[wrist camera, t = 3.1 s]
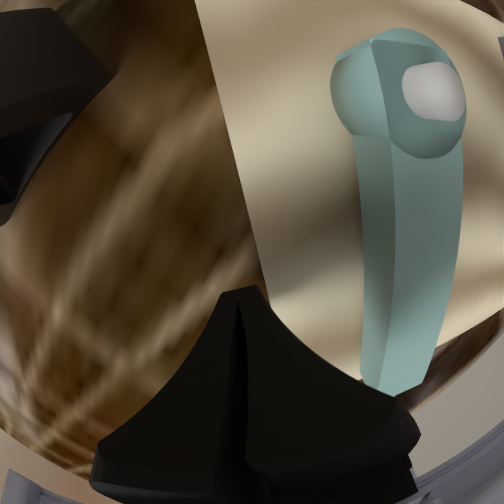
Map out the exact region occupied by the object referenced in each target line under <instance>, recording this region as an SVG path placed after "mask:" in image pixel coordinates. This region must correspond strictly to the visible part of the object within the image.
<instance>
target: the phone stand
mask: <svg viewBox="0 0 504 504" xmlns="http://www.w3.org/2000/svg"><path fill="white" fill-rule="evenodd" d="M109 81H110V77H109V76H108V75H107V74H106V72H105V71H104V70H103V69H102V68H101V66H100V65H99V64H98V63H97V62H96V61H95V59H94V58H93V57H92V56H91V55H90V53H89V52H88V51H87V50H86V49H85V47H84V46H83V45H82V44H81V43H80V41H79V40H78V39H77V38H76V37H75V35H74V34H73V33H72V32H71V31H70V30H69V28H68V27H67V26H66V25H65V24H64V22H63V21H62V20H61V19H60V18H59V16H58V15H57V14H56V13H55V12H54V11H53V9H52V8H37V9H24V10H15V11H7V12H1V13H0V226H3V225H4V224H5V223H6V222H7V221H8V220H9V218H10V216H11V214H12V212H13V210H14V209H15V207H16V205H17V203H18V201H19V199H20V197H21V196H22V194H23V192H24V190H25V189H26V187H27V185H28V184H29V182H30V180H31V179H32V177H33V176H34V174H35V172H36V171H37V169H38V168H39V166H40V165H41V163H42V162H43V160H42V159H43V158H44V157H45V156H46V155H48V153H49V152H50V150H51V149H52V148H53V146H54V145H55V144H56V142H57V141H58V140H59V138H60V137H61V136H62V134H63V133H64V132H65V131H66V129H67V128H68V127H69V126H70V124H71V123H72V122H73V121H74V120H75V118H76V117H77V116H78V115H79V114H80V113H81V111H82V110H83V109H84V108H85V107H86V106H87V105H88V104H89V103H90V101H91V100H92V99H93V98H94V97H95V96H96V95H97V94H98V93H99V92H100V91H101V90H102V89H103V88H104V87H105V86H106V85H107V84H108V83H109Z"/></svg>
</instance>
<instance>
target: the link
mask: <svg viewBox="0 0 504 504" xmlns="http://www.w3.org/2000/svg"><path fill="white" fill-rule="evenodd" d="M335 58H336V63H335V65H334V68H333V70H332V74H331V80H330V92H331V99H332V102H333V106H334V108H335V111H336V113H337V115H338V117H339V119H340V121H341V122H342V124H343V125H344V127H345V128H346V129H347V130H348V131H349V132H350V133H351V134H352V138H353V144H354V151H355V158H356V166H357V174H358V182H359V192H360V203H361V216H362V232H363V257H364V307H363V331H362V347H361V359H360V370H359V372H360V374H361V376H362V378H363V380H364V383H365V384H366V385H368V386H370V387H372V388H375V389H377V390H379V391H381V392H383V393H386V394H388V395H391V396H395V395H397V394H399V393H402V392H404V391H406V390H408V389H410V388H413V387H415V386H417V385H419V384H421V383H422V382H423V379H424V377H425V374H426V372H427V369H428V367H429V364H430V361H431V358H432V356H433V353H434V350H435V347H436V344H437V341H438V338H439V334H440V331H441V328H442V324H443V321H444V317H445V313H446V309H447V305H448V301H449V297H450V292H451V288H452V283H453V278H454V272H455V267H456V261H457V254H458V247H459V239H460V230H461V219H462V203H463V152H462V137H461V135H462V133H463V130H464V127H465V121H466V112H467V111H466V97H465V91H464V87H463V84H462V81H461V78H460V76H459V73H458V71H457V69H456V68H455V66H454V64H453V62H452V61H451V59H450V58H449V57H448V54H447V51H446V50H443V49H442V48H441V47H440V46H439V45H438V44H436V43H435V42H434V41H433V40H431V39H430V38H429V37H427V36H425V35H424V34H422V33H420V32H417V31H415V30H411V29H407V28H393V29H389V30H386V31H384V32H382V33H380V34H378V35H376V36H374V37H372V38H370V39H367V40H365V41H363V42H361V43H359V44H357V45H356V46H354V47H352V48H350V49H348V50H347V51H345V52H343V53H341V54H339V55H338V56H336V57H335Z"/></svg>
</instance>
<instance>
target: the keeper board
mask: <svg viewBox="0 0 504 504" xmlns="http://www.w3.org/2000/svg"><path fill="white" fill-rule="evenodd" d="M195 3H196V7H197V11H198V15H199V19H200V22H201V26H202V30H203V34H204V38H205V42H206V46H207V50H208V54H209V57H210V61H211V65H212V69H213V73H214V77H215V81H216V85H217V89H218V93H219V97H220V101H221V105H222V109H223V113H224V117H225V121H226V125H227V129H228V133H229V137H230V141H231V145H232V149H233V153H234V157H235V161H236V165H237V169H238V173H239V177H240V181H241V185H242V189H243V193H244V197H245V201H246V205H247V209H248V214H249V218H250V222H251V226H252V230H253V234H254V238H255V242H256V246H257V250H258V255H259V259H260V263H261V267H262V271H263V275H264V279H265V284H266V288H267V292H268V296H269V300H270V305H271V308H272V310H273V311H274V312H275V314H276V315H277V316H278V317H279V318H280V320H281V321H282V322H283V323H284V324H285V325H286V326H287V327H288V328H289V329H290V330H291V332H292V333H293V334H294V335H296V336H297V337H298V338H299V339H300V340H301V341H302V342H303V343H304V344H305V345H307V346H308V347H309V348H310V349H311V350H313V351H314V352H315V353H317V354H318V355H319V356H320V357H322V358H323V359H324V360H326V361H327V362H329V363H331V364H332V365H334V366H335V367H337V368H338V369H340V370H341V371H343V372H344V373H346V374H348V375H349V376H351V377H353V378H355V379H357V380H359V379H362V376H361V374H360V372H359V370H360V359H361V347H362V331H363V307H364V257H363V232H362V216H361V203H360V192H359V182H358V174H357V166H356V158H355V151H354V144H353V138H352V134H351V133H350V132H349V131H348V130H347V129H346V128H345V127H344V125H343V124H342V122H341V121H340V119H339V117H338V115H337V113H336V111H335V108H334V106H333V102H332V99H331V92H330V80H331V74H332V70H333V68H334V65H335V63H336V58H335V57H336V56H338V55H339V54H341V53H343V52H345V51H347V50H348V49H350V48H352V47H354V46H356V45H357V44H359V43H361V42H363V41H365V40H367V39H370V38H372V37H374V36H376V35H378V34H380V33H382V32H384V31H386V30H389V29H393V28H407V29H411V30H415V31H417V32H420V33H422V34H424V35H425V36H427V37H429V38H430V39H431V40H433V41H434V42H435V43H436V44H438V45H439V46H440V47H441V48H442V49H443V50H446V51H447V54H448V57H449V58H450V59H451V61H452V62H453V64H454V66H455V68H456V69H457V71H458V73H459V76H460V78H461V81H462V84H463V87H464V91H465V97H466V111H467V112H466V121H465V127H464V130H463V133H462V135H461V137H462V152H463V203H462V219H461V230H460V239H459V247H458V254H457V261H456V267H455V272H454V278H453V283H452V288H451V292H450V297H449V301H448V305H447V309H446V313H445V317H444V321H443V324H442V328H441V331H440V334H439V338H438V341H437V344H436V347H437V346H439V345H441V344H443V343H445V342H447V341H449V340H451V339H453V338H454V337H456V336H458V335H460V334H462V333H463V332H465V331H467V330H469V329H470V328H472V327H474V326H475V325H477V324H479V323H480V322H482V321H483V320H485V319H487V318H488V317H490V316H491V315H493V314H494V313H496V312H497V311H499V310H500V309H502V308H503V307H504V24H503V23H502V22H500V21H498V20H497V19H495V18H493V17H491V16H490V15H488V14H486V13H484V12H482V11H480V10H478V9H476V8H474V7H472V6H470V5H468V4H466V3H464V2H462V1H460V0H195Z"/></svg>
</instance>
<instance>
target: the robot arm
mask: <svg viewBox="0 0 504 504" xmlns="http://www.w3.org/2000/svg"><path fill="white" fill-rule="evenodd" d="M420 436H421V433H420V431H419V428H418V426H417V423H416V422H415V420H414V419H413V417H412V416H411V415H410V413H409V412H408V410H407V409H406V408H405V407H404V405H403V404H402V403H401V402H400V401H399V400H398V398H396V397H395V396H391V395H388V394H386V393H383V392H381V391H379V390H377V389H375V388H372V387H370V386H368V385H366V384H364V383H362V382H360V381H359V380H357V379H355V378H353V377H351V376H349V375H348V374H346V373H344V372H343V371H341V370H340V369H338V368H337V367H335V366H334V365H332V364H331V363H329V362H327V361H326V360H324V359H323V358H322V357H320V356H319V355H318V354H317V353H315V352H314V351H313V350H311V349H310V348H309V347H308V346H307V345H305V344H304V343H303V342H302V341H301V340H300V339H299V338H298V337H297V336H296V335H294V334H293V333H292V332H291V330H290V329H289V328H288V327H287V326H286V325H285V324H284V323H283V322H282V321H281V320H280V318H279V317H278V316H277V315H276V314H275V312H274V311H273V310H272V308H271V307H270V306H269V304H268V303H267V301H266V300H265V298H264V296H263V294H262V292H261V290H260V287H259V286H257V285H253V286H248V287H244V288H240V289H236V290H231V291H227V292H223V293H222V294H221V295H220V297H219V299H218V301H217V304H216V306H215V308H214V310H213V312H212V314H211V316H210V318H209V320H208V322H207V324H206V326H205V328H204V330H203V332H202V333H201V335H200V337H199V339H198V340H197V342H196V343H195V345H194V347H193V348H192V350H191V352H190V353H189V355H188V356H187V358H186V359H185V361H184V362H183V363H182V365H181V366H180V368H179V369H178V370H177V372H176V373H175V374H174V375H173V377H172V378H171V379H170V380H169V381H168V382H167V383H166V385H165V386H164V387H163V388H162V389H161V390H160V391H159V392H158V393H157V394H156V396H155V397H154V398H153V399H152V400H151V401H150V402H149V403H147V404H146V405H145V406H144V407H143V408H142V409H141V410H140V411H139V412H138V413H136V414H135V415H134V416H133V417H132V418H131V419H129V420H128V421H127V422H126V423H124V424H123V425H122V426H120V427H119V428H118V429H116V430H115V431H114V432H112V433H111V434H109V435H108V436H107V437H105V438H104V439H102V440H101V441H99V442H98V444H97V448H96V452H95V457H94V461H93V466H92V470H91V475H90V480H89V484H90V486H91V487H92V488H93V489H94V490H95V491H97V492H99V493H101V494H102V495H104V496H107V497H109V498H111V499H113V500H116V501H118V502H120V503H123V504H504V420H503V421H502V422H500V423H499V424H498V425H497V426H496V427H494V428H493V429H492V430H491V431H489V432H488V433H487V434H486V435H484V436H483V437H482V438H481V439H479V440H478V441H476V442H475V443H473V444H472V445H471V446H469V447H468V448H466V449H465V450H464V451H462V452H461V453H459V454H457V455H456V456H454V457H453V458H451V459H450V460H448V461H447V462H445V463H443V464H442V465H440V466H438V467H436V468H434V469H433V470H431V471H429V472H427V473H425V474H424V475H422V476H420V477H418V478H417V477H416V474H415V472H414V469H413V467H412V463H411V460H410V458H409V456H408V454H409V453H410V452H411V450H412V449H413V448H414V447H415V445H416V444H417V442H418V440H419V438H420ZM0 504H82V503H79V502H76V501H73V500H70V499H68V498H65V497H63V496H60V495H57V494H55V493H53V492H50V491H48V490H46V489H44V488H42V487H40V486H39V485H37V484H36V483H34V482H33V481H31V480H29V479H27V478H26V477H24V476H22V475H20V474H18V473H16V472H15V471H13V470H11V469H9V470H8V474H7V477H6V481H5V485H4V489H3V494H2V499H1V503H0Z"/></svg>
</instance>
